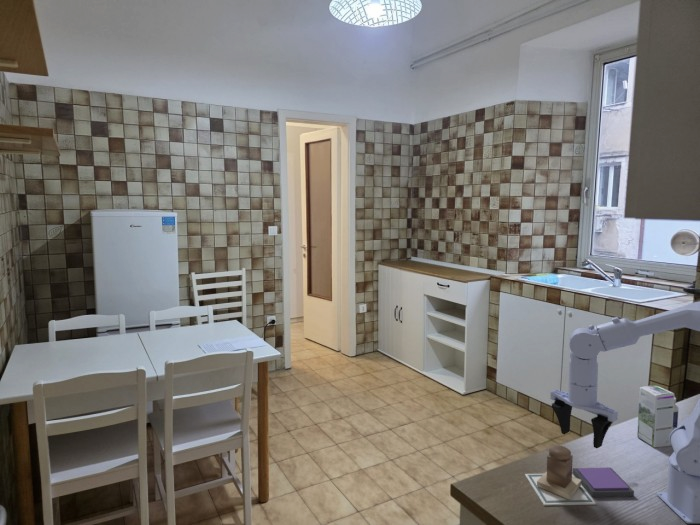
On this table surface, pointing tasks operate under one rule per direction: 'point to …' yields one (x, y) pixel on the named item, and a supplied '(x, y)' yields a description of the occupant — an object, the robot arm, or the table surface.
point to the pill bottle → (675, 415)
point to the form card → (551, 499)
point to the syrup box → (655, 415)
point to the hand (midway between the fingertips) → (581, 439)
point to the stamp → (559, 473)
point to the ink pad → (602, 482)
